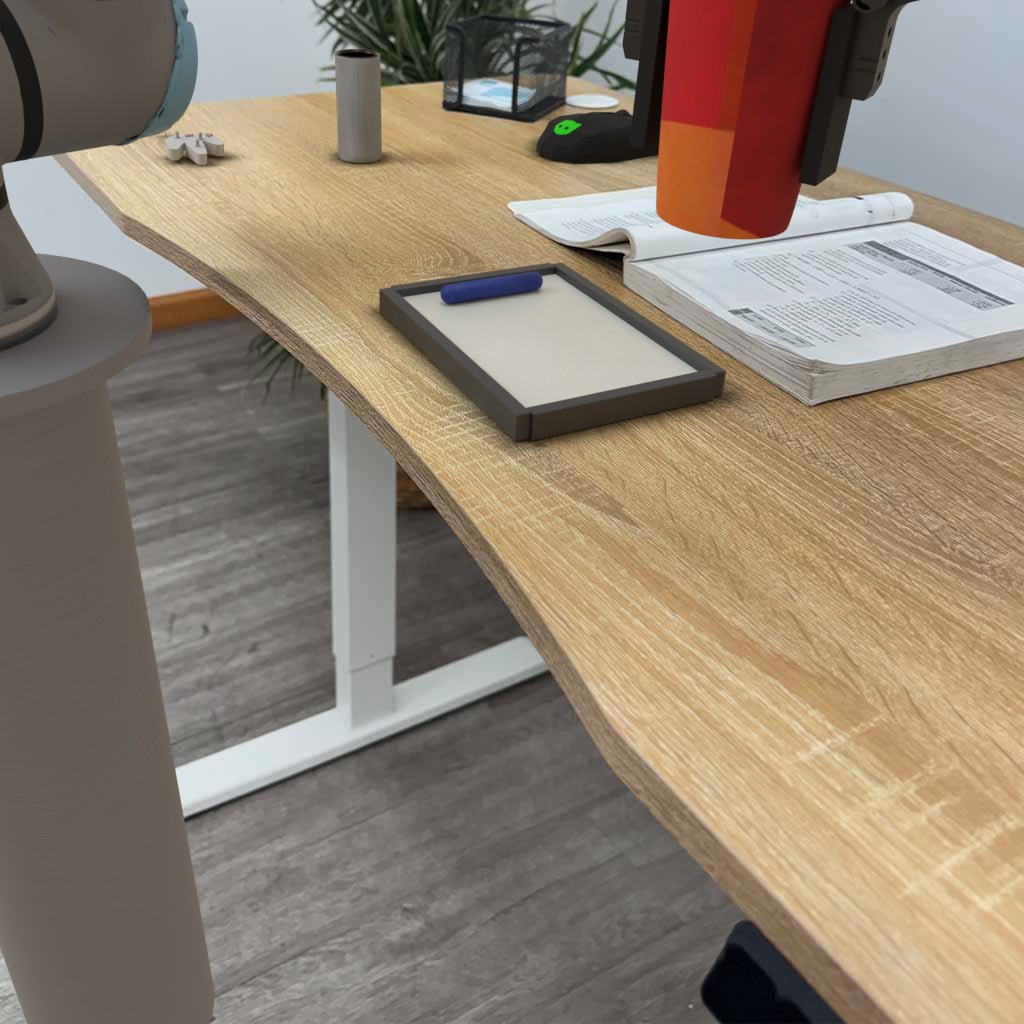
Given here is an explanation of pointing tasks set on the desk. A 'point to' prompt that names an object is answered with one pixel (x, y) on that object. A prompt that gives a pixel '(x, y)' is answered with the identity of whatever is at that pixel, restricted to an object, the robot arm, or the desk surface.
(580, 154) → the computer mouse
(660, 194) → the coffee cup
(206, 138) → the game controller
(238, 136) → the desk surface
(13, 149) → the robot arm
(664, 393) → the whiteboard
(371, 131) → the grey cylindrical container
